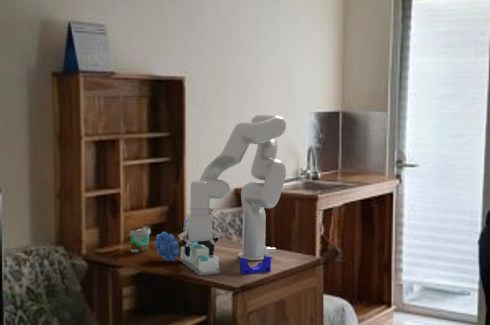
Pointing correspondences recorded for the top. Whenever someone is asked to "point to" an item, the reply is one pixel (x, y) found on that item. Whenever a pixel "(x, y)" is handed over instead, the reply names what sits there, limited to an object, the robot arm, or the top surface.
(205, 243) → the bottle
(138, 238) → the food container
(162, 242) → the grapes
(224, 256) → the top surface
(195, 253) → the block
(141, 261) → the top surface
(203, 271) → the rail
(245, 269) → the blue mounting bracket
